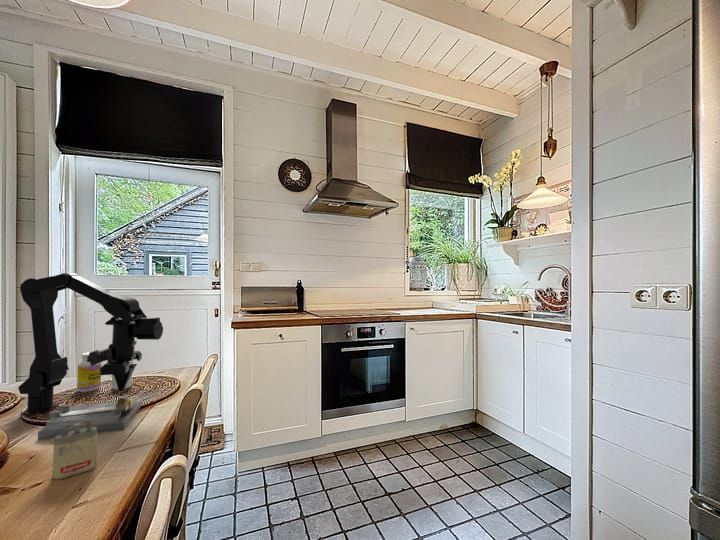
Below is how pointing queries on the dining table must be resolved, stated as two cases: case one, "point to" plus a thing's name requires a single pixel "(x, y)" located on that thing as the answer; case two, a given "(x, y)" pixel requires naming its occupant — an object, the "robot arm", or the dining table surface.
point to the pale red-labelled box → (75, 450)
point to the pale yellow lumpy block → (125, 402)
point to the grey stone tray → (100, 421)
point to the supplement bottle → (88, 375)
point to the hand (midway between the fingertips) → (121, 390)
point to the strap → (94, 411)
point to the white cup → (114, 384)
